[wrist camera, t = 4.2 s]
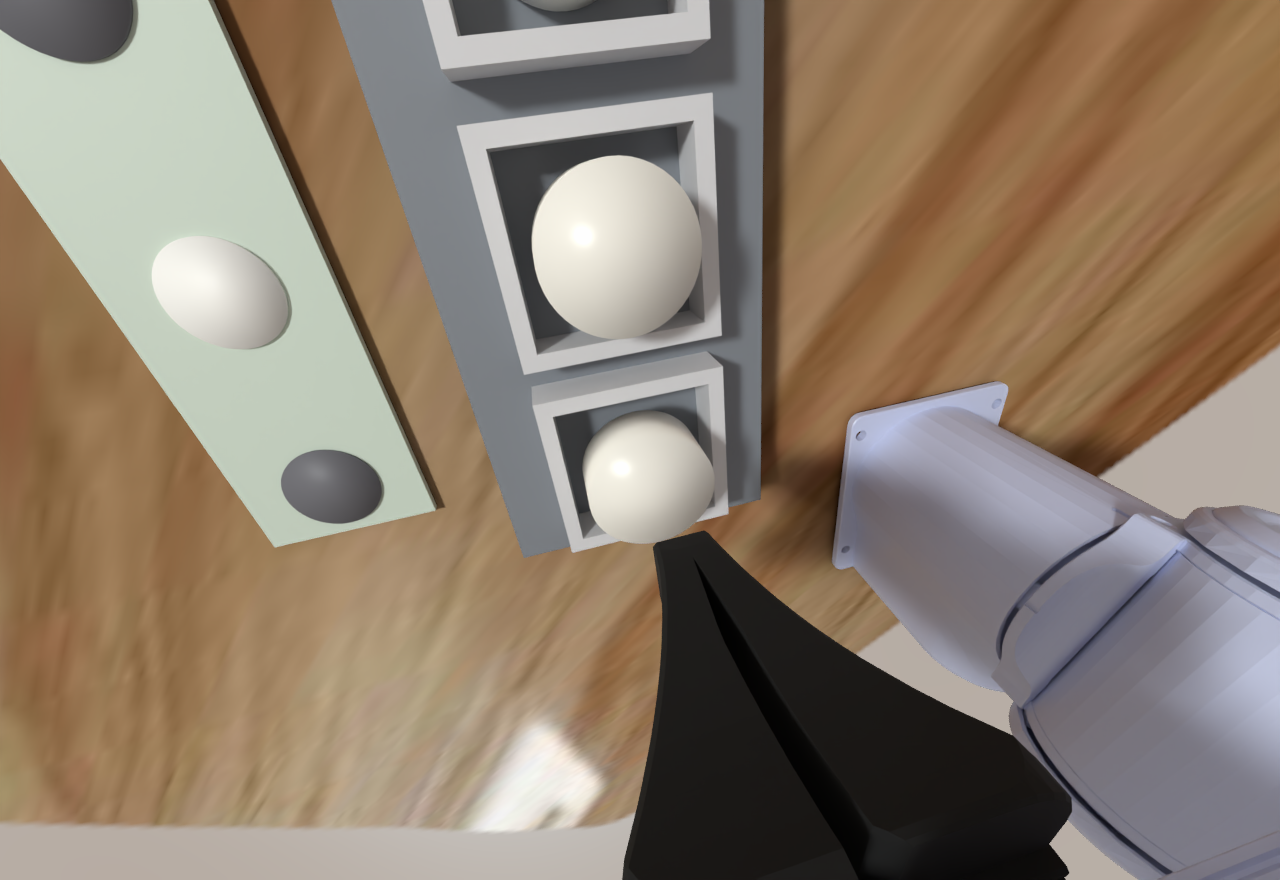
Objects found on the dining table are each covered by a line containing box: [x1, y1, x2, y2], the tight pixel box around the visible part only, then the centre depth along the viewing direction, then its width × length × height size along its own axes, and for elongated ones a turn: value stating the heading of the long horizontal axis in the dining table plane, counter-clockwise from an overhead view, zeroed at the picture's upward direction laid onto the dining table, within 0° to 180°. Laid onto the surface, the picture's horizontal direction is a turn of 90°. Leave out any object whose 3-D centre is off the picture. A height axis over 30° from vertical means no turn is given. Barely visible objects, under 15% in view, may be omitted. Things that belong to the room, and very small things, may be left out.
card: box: [0, 0, 437, 547], centre depth 14 cm, size 18×6×1 cm, turn 7°
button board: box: [331, 0, 764, 558], centre depth 14 cm, size 22×10×4 cm, turn 7°
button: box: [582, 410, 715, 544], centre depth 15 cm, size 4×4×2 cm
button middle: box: [531, 155, 702, 339], centre depth 12 cm, size 4×4×2 cm
